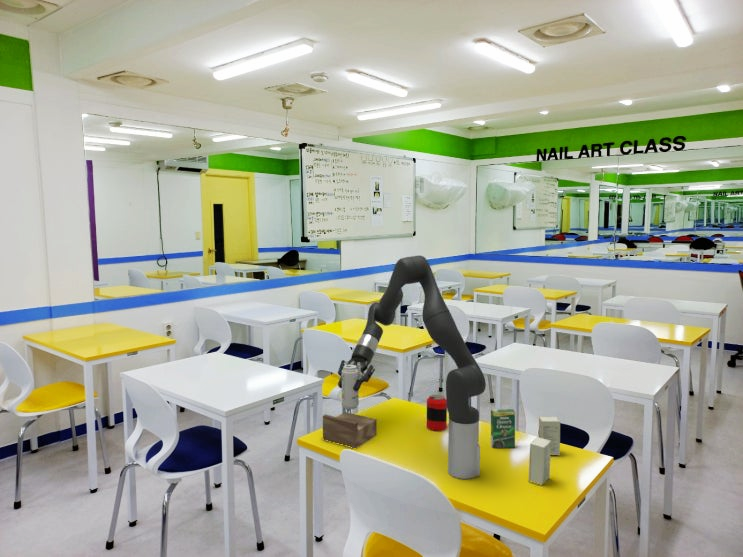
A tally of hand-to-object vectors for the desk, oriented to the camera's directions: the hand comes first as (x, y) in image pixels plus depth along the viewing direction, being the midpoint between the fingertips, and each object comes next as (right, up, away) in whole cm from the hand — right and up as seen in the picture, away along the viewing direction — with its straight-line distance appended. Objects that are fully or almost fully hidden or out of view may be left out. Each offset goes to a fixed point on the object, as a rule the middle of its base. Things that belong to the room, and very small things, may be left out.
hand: (347, 388), depth 183 cm
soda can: (+33, -18, +13) cm, 40 cm away
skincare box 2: (+59, -22, -28) cm, 69 cm away
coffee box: (+54, -20, -4) cm, 58 cm away
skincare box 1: (+69, -20, -10) cm, 72 cm away
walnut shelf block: (+1, -18, +3) cm, 19 cm away
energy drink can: (+1, -7, +2) cm, 8 cm away
